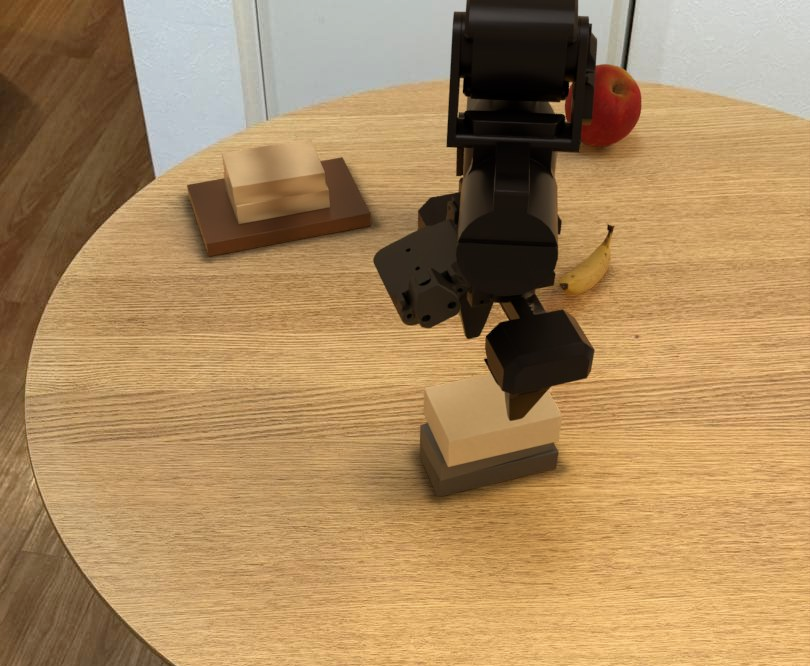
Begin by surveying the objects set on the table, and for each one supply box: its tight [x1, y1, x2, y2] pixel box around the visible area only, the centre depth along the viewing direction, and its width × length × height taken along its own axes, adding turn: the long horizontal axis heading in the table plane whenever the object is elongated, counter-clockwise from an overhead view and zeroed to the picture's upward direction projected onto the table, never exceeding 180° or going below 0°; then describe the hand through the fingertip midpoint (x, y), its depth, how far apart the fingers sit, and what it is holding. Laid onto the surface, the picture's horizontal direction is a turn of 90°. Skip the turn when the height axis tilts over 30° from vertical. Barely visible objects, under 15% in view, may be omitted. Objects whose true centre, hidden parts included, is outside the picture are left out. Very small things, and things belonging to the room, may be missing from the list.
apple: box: [564, 63, 642, 148], centre depth 119 cm, size 8×8×8 cm
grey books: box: [419, 422, 559, 498], centre depth 91 cm, size 10×5×4 cm, turn 107°
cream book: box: [423, 372, 563, 467], centre depth 88 cm, size 9×6×3 cm, turn 108°
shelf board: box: [186, 138, 372, 257], centre depth 112 cm, size 16×10×6 cm, turn 108°
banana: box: [557, 223, 615, 296], centre depth 105 cm, size 10×2×4 cm, turn 149°
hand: (493, 376), depth 85 cm, fingers open, 9 cm apart
